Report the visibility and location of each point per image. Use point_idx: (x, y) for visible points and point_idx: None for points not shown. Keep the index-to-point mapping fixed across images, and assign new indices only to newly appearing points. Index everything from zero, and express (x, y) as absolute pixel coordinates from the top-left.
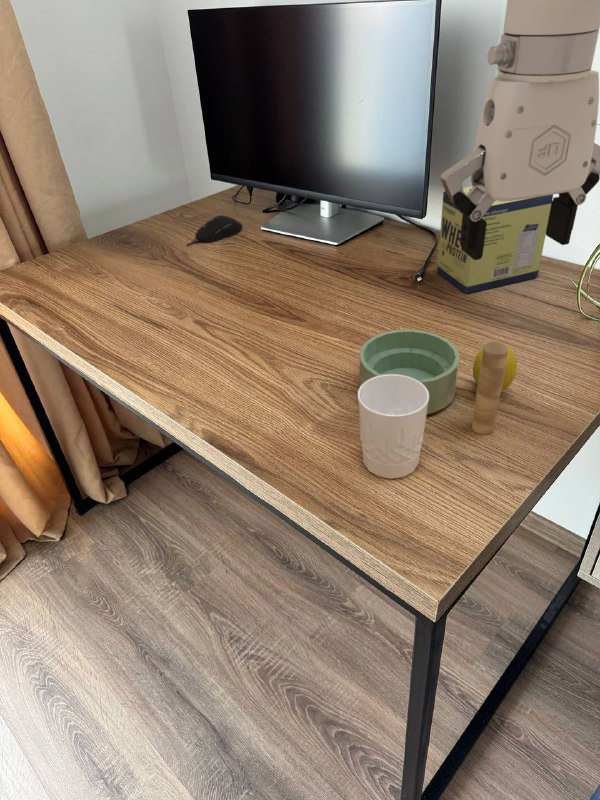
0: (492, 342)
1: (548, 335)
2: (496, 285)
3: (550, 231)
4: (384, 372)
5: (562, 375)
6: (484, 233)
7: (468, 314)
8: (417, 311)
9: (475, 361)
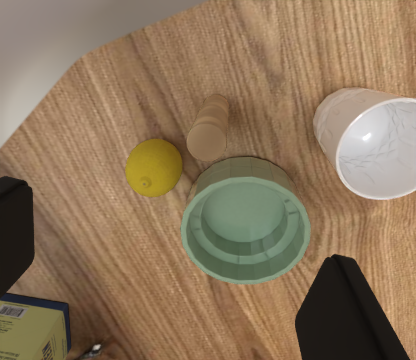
0: (199, 158)
1: None
2: (26, 298)
3: (21, 256)
4: (246, 241)
5: (64, 133)
6: (367, 330)
7: (89, 275)
8: (136, 306)
9: (175, 184)
